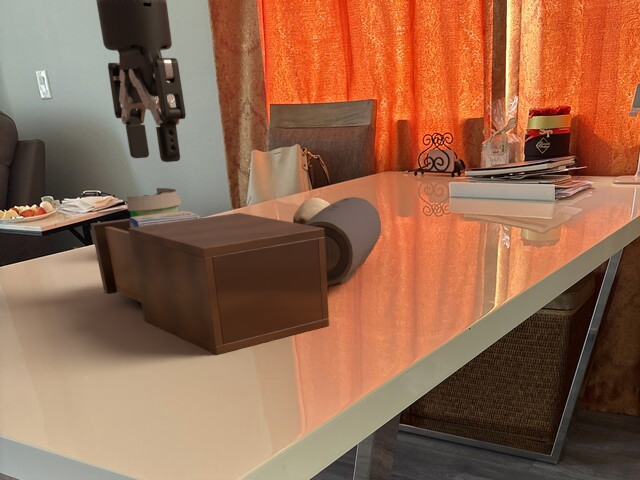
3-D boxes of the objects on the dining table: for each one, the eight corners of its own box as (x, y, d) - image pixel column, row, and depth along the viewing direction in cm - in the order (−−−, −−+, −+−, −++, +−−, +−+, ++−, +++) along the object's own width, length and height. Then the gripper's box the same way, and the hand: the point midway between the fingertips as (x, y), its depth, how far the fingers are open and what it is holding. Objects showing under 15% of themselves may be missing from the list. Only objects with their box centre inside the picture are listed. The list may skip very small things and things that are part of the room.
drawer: (91, 287, 99) (77, 220, 95) (180, 271, 107) (171, 208, 102) (158, 317, 85) (145, 239, 80) (255, 295, 92) (248, 223, 88)
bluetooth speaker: (328, 259, 115) (324, 193, 110) (385, 260, 114) (384, 192, 109) (290, 295, 96) (284, 216, 91) (358, 296, 94) (355, 216, 89)
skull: (307, 228, 135) (336, 187, 128) (342, 270, 134) (372, 230, 127) (266, 237, 126) (295, 192, 119) (303, 281, 125) (333, 239, 118)
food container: (171, 261, 118) (161, 196, 113) (136, 260, 119) (125, 197, 114) (199, 246, 129) (191, 187, 124) (167, 246, 130) (158, 187, 125)
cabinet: (144, 321, 87) (127, 228, 82) (248, 298, 95) (239, 212, 90) (216, 354, 75) (202, 248, 69) (329, 325, 83) (324, 228, 77)
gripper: (74, 4, 82) (102, 159, 90) (125, -10, 72) (151, 165, 80) (136, 7, 86) (158, 155, 94) (192, -6, 76) (211, 160, 84)
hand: (155, 159), depth 87 cm, fingers open, 8 cm apart
